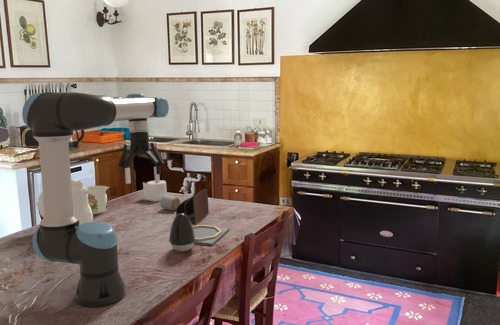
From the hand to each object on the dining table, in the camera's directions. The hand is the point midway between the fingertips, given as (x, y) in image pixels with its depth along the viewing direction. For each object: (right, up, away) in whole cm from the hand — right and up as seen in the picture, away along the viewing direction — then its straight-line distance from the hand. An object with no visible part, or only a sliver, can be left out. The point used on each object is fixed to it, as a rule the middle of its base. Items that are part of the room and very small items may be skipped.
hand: (142, 182), depth 187 cm
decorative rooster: (-40, -23, +21) cm, 51 cm away
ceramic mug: (+3, -17, +54) cm, 57 cm away
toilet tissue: (-10, -13, +74) cm, 75 cm away
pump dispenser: (+17, -27, -3) cm, 32 cm away
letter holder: (+16, -20, +37) cm, 45 cm away
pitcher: (-37, -18, +49) cm, 64 cm away
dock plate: (+22, -24, +12) cm, 35 cm away
